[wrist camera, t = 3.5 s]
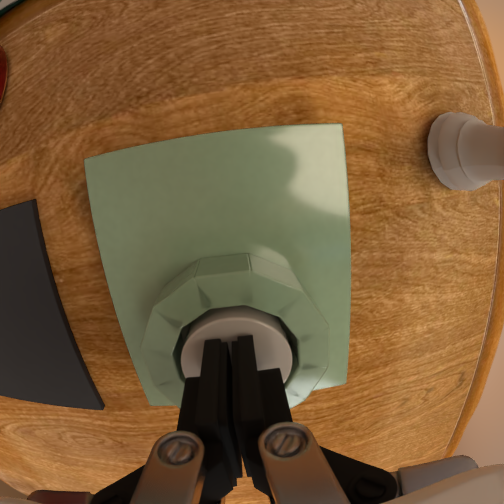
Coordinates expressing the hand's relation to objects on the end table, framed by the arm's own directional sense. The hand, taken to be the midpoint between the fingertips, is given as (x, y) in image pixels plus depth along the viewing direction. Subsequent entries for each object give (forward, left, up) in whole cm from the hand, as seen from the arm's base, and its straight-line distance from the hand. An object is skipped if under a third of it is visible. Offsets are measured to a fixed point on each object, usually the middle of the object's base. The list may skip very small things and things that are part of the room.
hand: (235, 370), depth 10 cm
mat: (0, -17, -5) cm, 18 cm away
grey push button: (0, 0, -2) cm, 2 cm away
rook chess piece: (-7, +13, -6) cm, 16 cm away
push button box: (-2, 0, -5) cm, 6 cm away
